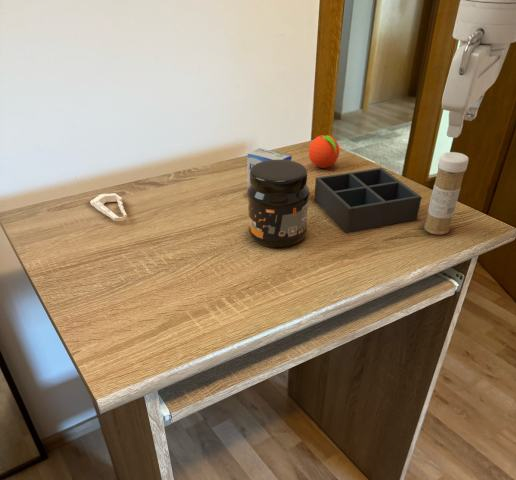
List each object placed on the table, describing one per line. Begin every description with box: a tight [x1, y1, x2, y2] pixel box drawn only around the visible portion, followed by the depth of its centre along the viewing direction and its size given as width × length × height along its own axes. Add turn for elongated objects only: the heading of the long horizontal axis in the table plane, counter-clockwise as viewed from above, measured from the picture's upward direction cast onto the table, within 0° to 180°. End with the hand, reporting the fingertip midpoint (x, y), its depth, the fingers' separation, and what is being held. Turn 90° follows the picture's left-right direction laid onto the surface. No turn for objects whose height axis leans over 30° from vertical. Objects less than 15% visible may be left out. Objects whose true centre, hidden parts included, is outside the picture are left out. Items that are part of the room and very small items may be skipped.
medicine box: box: [246, 147, 292, 188], centre depth 98 cm, size 8×4×9 cm, turn 55°
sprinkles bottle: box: [423, 151, 470, 236], centre depth 84 cm, size 5×5×13 cm
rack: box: [313, 167, 422, 233], centre depth 94 cm, size 15×15×5 cm
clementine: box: [308, 134, 340, 169], centre depth 109 cm, size 8×7×7 cm
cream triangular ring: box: [89, 192, 128, 222], centre depth 96 cm, size 13×5×2 cm, turn 38°
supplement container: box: [246, 160, 310, 248], centre depth 84 cm, size 10×10×12 cm
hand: (461, 127), depth 77 cm, fingers open, 8 cm apart
